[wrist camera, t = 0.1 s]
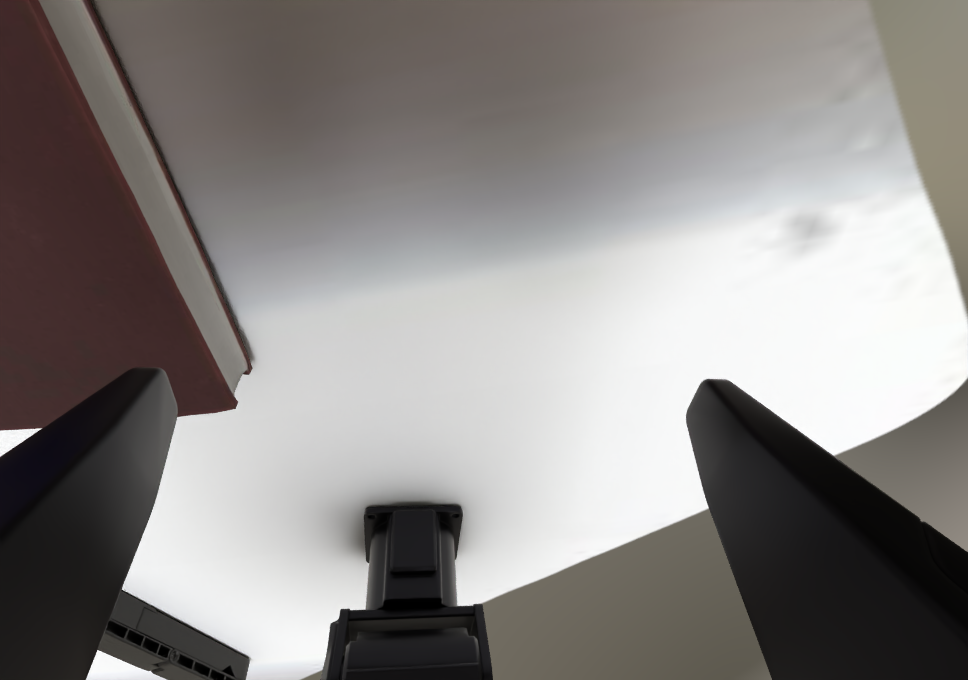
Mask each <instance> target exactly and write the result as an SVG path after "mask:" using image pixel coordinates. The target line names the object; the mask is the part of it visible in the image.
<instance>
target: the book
mask: <svg viewBox="0 0 968 680" xmlns="http://www.w3.org/2000/svg"><path fill="white" fill-rule="evenodd" d="M135 367H157V368H161V369H163V370H164V371H165V373H166V375H167V377H168V380H169V383H170V386H171V388H172V391H173V394H174V397H175V400H176V403H177V408H178V413H177V417H180V416H188V415H197V414H207V413H216V412H222V411H227V410H232V409H236V406H237V404H238V401H237V400H236V398H235V397H234V392H235V390H236V387H237V385H238V382H239V380H240V378H241V376H242V374H246V375H249V374H250V372H251V370H252V369H253V368H252V365H251V362H250V360H249V357H248V355H247V352H246V350H245V347H244V345H243V342H242V340H241V337H240V335H239V332H238V330H237V328H236V325H235V323H234V321H233V318H232V316H231V314H230V312H229V310H228V307H227V305H226V303H225V301H224V299H223V296H222V294H221V292H220V290H219V288H218V286H217V284H216V282H215V280H214V277H213V274H212V272H211V269H210V267H209V264H208V261H207V259H206V256H205V254H204V252H203V249H202V247H201V245H200V243H199V241H198V238H197V236H196V234H195V232H194V230H193V228H192V225H191V223H190V221H189V218H188V216H187V214H186V211H185V209H184V206H183V204H182V202H181V200H180V197H179V195H178V193H177V191H176V189H175V186H174V184H173V182H172V180H171V178H170V176H169V174H168V171H167V169H166V167H165V165H164V163H163V161H162V158H161V156H160V154H159V152H158V150H157V148H156V145H155V143H154V141H153V139H152V137H151V135H150V132H149V130H148V128H147V126H146V124H145V121H144V119H143V117H142V114H141V112H140V110H139V107H138V105H137V103H136V101H135V98H134V96H133V94H132V91H131V89H130V87H129V84H128V82H127V80H126V78H125V76H124V73H123V71H122V69H121V67H120V65H119V62H118V60H117V58H116V56H115V54H114V51H113V49H112V47H111V45H110V43H109V41H108V39H107V36H106V34H105V32H104V30H103V28H102V26H101V24H100V22H99V20H98V17H97V15H96V13H95V11H94V9H93V7H92V4H91V2H90V0H0V430H19V429H36V428H44V427H45V426H47V425H48V424H50V423H51V422H53V421H54V420H56V419H57V418H59V417H60V416H61V415H63V414H64V413H66V412H67V411H69V410H70V409H72V408H73V407H75V406H76V405H78V404H79V403H81V402H82V401H84V400H85V399H87V398H88V397H90V396H91V395H92V394H94V393H95V392H97V391H98V390H100V389H101V388H103V387H104V386H106V385H107V384H109V383H110V382H112V381H113V380H115V379H116V378H118V377H119V376H121V375H122V374H123V373H125V372H126V371H128V370H130V369H132V368H135Z"/></svg>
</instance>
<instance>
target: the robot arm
mask: <svg viewBox="0 0 968 680" xmlns="http://www.w3.org/2000/svg"><path fill="white" fill-rule="evenodd" d="M177 413H178V408H177V403H176V400H175V397H174V394H173V391H172V388H171V386H170V383H169V380H168V377H167V375H166V373H165V371H164V370H163V369H161V368H157V367H135V368H132V369H130V370H128V371H126V372H125V373H123V374H122V375H121V376H119V377H118V378H116V379H115V380H113V381H112V382H110V383H109V384H107V385H106V386H104V387H103V388H101V389H100V390H98V391H97V392H95V393H94V394H92V395H91V396H90V397H88V398H87V399H85V400H84V401H82V402H81V403H79V404H78V405H76V406H75V407H73V408H72V409H70V410H69V411H67V412H66V413H64V414H63V415H61V416H60V417H59V418H57V419H56V420H54V421H53V422H51V423H50V424H48V425H47V426H45V427H44V428H42V429H41V430H39V431H38V432H36V433H35V434H33V435H32V436H31V437H29V438H28V439H26V440H25V441H23V442H22V443H20V444H19V445H17V446H16V447H14V448H13V449H11V450H10V451H8V452H7V453H5V454H4V455H2V456H1V457H0V680H86V678H87V675H88V673H89V670H90V667H91V665H92V662H93V660H94V657H95V655H96V652H97V650H98V647H99V645H100V642H101V640H102V637H103V635H104V632H105V629H106V627H107V624H108V622H109V619H110V617H111V614H112V612H113V609H114V607H115V604H116V602H117V599H118V596H119V594H120V591H121V589H122V586H123V584H124V581H125V579H126V576H127V574H128V571H129V569H130V566H131V563H132V561H133V558H134V556H135V553H136V551H137V548H138V546H139V543H140V541H141V538H142V536H143V533H144V530H145V528H146V525H147V523H148V520H149V518H150V515H151V512H152V509H153V507H154V503H155V500H156V497H157V493H158V489H159V486H160V482H161V478H162V474H163V470H164V466H165V462H166V459H167V455H168V451H169V447H170V443H171V439H172V435H173V432H174V428H175V424H176V420H177ZM686 423H687V427H688V431H689V435H690V439H691V443H692V447H693V451H694V455H695V459H696V463H697V467H698V471H699V475H700V479H701V483H702V487H703V491H704V494H705V498H706V501H707V504H708V507H709V510H710V512H711V515H712V518H713V520H714V523H715V526H716V528H717V531H718V534H719V537H720V539H721V542H722V545H723V548H724V550H725V553H726V556H727V558H728V561H729V564H730V567H731V569H732V572H733V575H734V577H735V580H736V583H737V586H738V588H739V591H740V594H741V596H742V599H743V602H744V604H745V607H746V610H747V613H748V615H749V618H750V621H751V623H752V626H753V629H754V631H755V634H756V637H757V640H758V642H759V645H760V648H761V650H762V653H763V656H764V659H765V661H766V664H767V667H768V669H769V672H770V675H771V678H772V680H968V552H967V551H965V550H964V549H962V548H961V547H960V546H958V545H957V544H955V543H954V542H952V541H951V540H950V539H948V538H947V537H945V536H944V535H943V534H941V533H940V532H938V531H937V530H936V529H934V528H933V527H932V526H930V525H929V524H927V523H926V522H921V521H920V519H919V517H918V516H916V515H915V514H913V513H912V512H911V511H909V510H908V509H906V508H905V507H904V506H902V505H901V504H899V503H898V502H897V501H895V500H894V499H892V498H891V497H890V496H888V495H887V494H886V493H884V492H883V491H881V490H880V489H879V488H877V487H876V486H875V485H873V484H872V483H870V482H869V481H867V480H866V479H865V478H863V477H862V476H861V475H859V474H858V473H856V472H855V471H854V470H852V469H851V468H850V467H848V466H847V465H845V464H844V463H843V462H841V461H840V460H838V459H837V458H836V457H834V456H833V455H832V454H830V453H829V452H827V451H826V450H825V449H823V448H822V447H820V446H819V445H818V444H816V443H815V442H814V441H812V440H811V439H809V438H808V437H807V436H805V435H804V434H802V433H801V432H800V431H798V430H797V429H795V428H794V427H793V426H791V425H790V424H789V423H787V422H786V421H784V420H783V419H782V418H780V417H779V416H777V415H776V414H775V413H773V412H772V411H771V410H769V409H768V408H766V407H765V406H764V405H762V404H761V403H759V402H758V401H757V400H755V399H754V398H752V397H751V396H750V395H748V394H747V393H746V392H744V391H743V390H741V389H740V388H739V387H737V386H736V385H734V384H733V383H732V382H730V381H728V380H725V379H706V380H704V381H703V382H701V384H700V385H699V387H698V389H697V391H696V393H695V395H694V397H693V400H692V402H691V404H690V406H689V408H688V410H687V414H686ZM462 517H463V512H462V508H461V507H458V506H433V507H370V508H367V509H366V510H365V512H364V527H365V548H366V561H367V562H368V563H369V573H368V585H367V598H366V610H350V609H341V610H340V616H339V619H338V620H337V621H335V622H333V623H331V625H330V633H329V641H328V648H327V654H326V659H325V663H324V667H323V671H322V675H321V679H320V680H493V676H492V666H491V658H490V652H489V645H488V640H487V639H488V638H487V632H486V625H485V619H484V612H483V605H482V604H474V605H473V606H457V592H456V572H455V560H456V557H457V550H458V543H459V537H460V530H461V524H462Z"/></svg>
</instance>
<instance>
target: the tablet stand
mask: <svg viewBox="0 0 968 680" xmlns="http://www.w3.org/2000/svg"><path fill="white" fill-rule="evenodd" d="M98 650H99V651H102V652H104V653H106V654H109V655H111V656H113V657H115V658H118V659H120V660H122V661H125V662H127V663H129V664H132V665H134V666H136V667H139V668H141V669H144V670H147V671H151V672H152V673H153V674H156V675H158V676H160V677H163V678H165V679H167V680H246V676H247V671H248V667H249V662H250V660H249V659H248V658H246V657H244V656H242V655H240V654H238V653H236V652H234V651H232V650H230V649H229V648H227V647H225V646H223V645H221V644H219V643H217V642H215V641H213V640H211V639H209V638H207V637H205V636H204V635H202V634H200V633H198V632H196V631H194V630H192V629H190V628H188V627H186V626H184V625H182V624H180V623H179V622H177V621H175V620H173V619H171V618H169V617H167V616H165V615H163V614H161V613H159V612H157V611H156V609H155V608H153V607H151V606H149V605H147V604H146V603H144V602H142V601H140V600H138V599H136V598H134V597H132V596H130V595H128V594H126V593H125V592H123V591H120V594H119V596H118V599H117V602H116V604H115V607H114V609H113V612H112V614H111V617H110V619H109V622H108V624H107V627H106V629H105V632H104V635H103V637H102V640H101V642H100V645H99V647H98Z"/></svg>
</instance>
